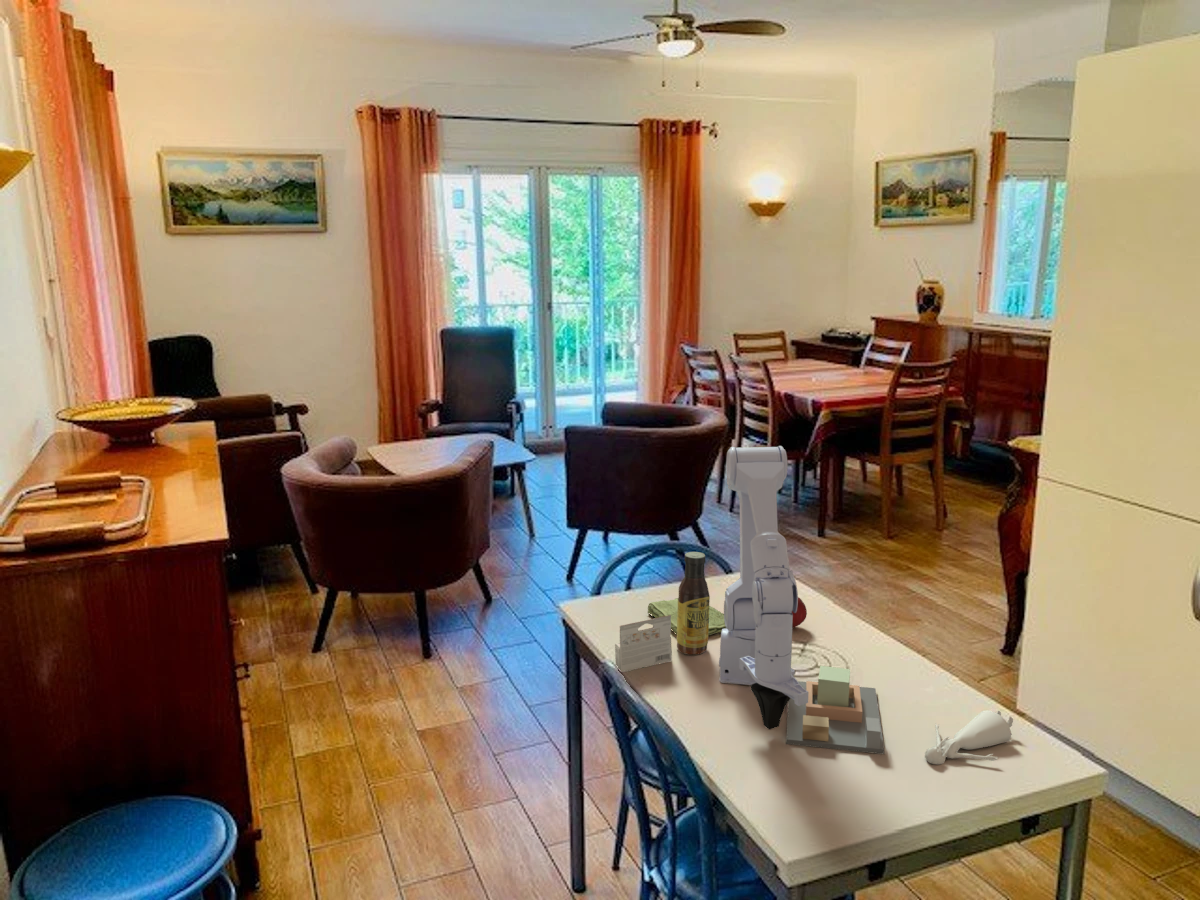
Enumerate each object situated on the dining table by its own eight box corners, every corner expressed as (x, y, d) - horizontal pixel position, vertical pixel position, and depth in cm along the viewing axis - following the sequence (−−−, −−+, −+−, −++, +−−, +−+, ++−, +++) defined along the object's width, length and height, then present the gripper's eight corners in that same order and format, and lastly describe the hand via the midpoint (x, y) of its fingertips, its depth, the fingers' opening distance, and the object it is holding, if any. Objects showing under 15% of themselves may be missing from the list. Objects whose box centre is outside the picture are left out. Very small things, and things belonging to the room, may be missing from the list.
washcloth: (683, 645, 177) (683, 631, 176) (643, 614, 192) (643, 600, 192) (738, 633, 182) (738, 618, 181) (695, 603, 197) (695, 590, 197)
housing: (786, 743, 140) (786, 722, 139) (789, 684, 159) (789, 665, 158) (884, 754, 137) (885, 732, 136) (875, 692, 156) (876, 672, 155)
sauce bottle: (687, 659, 170) (687, 562, 165) (670, 647, 175) (670, 553, 171) (715, 651, 172) (716, 556, 168) (697, 640, 178) (698, 547, 174)
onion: (810, 625, 184) (811, 590, 182) (800, 635, 179) (801, 599, 177) (783, 620, 187) (784, 584, 185) (773, 629, 182) (774, 593, 180)
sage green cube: (817, 711, 148) (818, 678, 147) (819, 697, 153) (820, 665, 151) (847, 715, 147) (849, 682, 145) (848, 700, 151) (850, 669, 150)
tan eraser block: (802, 738, 140) (802, 724, 139) (802, 728, 143) (803, 715, 142) (828, 741, 139) (828, 727, 138) (827, 731, 142) (828, 717, 141)
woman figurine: (1038, 723, 136) (959, 764, 128) (1037, 749, 137) (958, 790, 129) (975, 692, 146) (898, 728, 138) (974, 716, 147) (898, 753, 139)
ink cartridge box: (614, 668, 167) (613, 620, 165) (666, 656, 171) (666, 610, 169) (620, 673, 165) (619, 625, 162) (672, 662, 169) (672, 615, 167)
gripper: (824, 660, 135) (821, 739, 138) (763, 627, 147) (761, 700, 150) (789, 671, 131) (787, 752, 134) (729, 636, 144) (728, 711, 147)
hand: (771, 726), depth 142 cm, fingers closed
